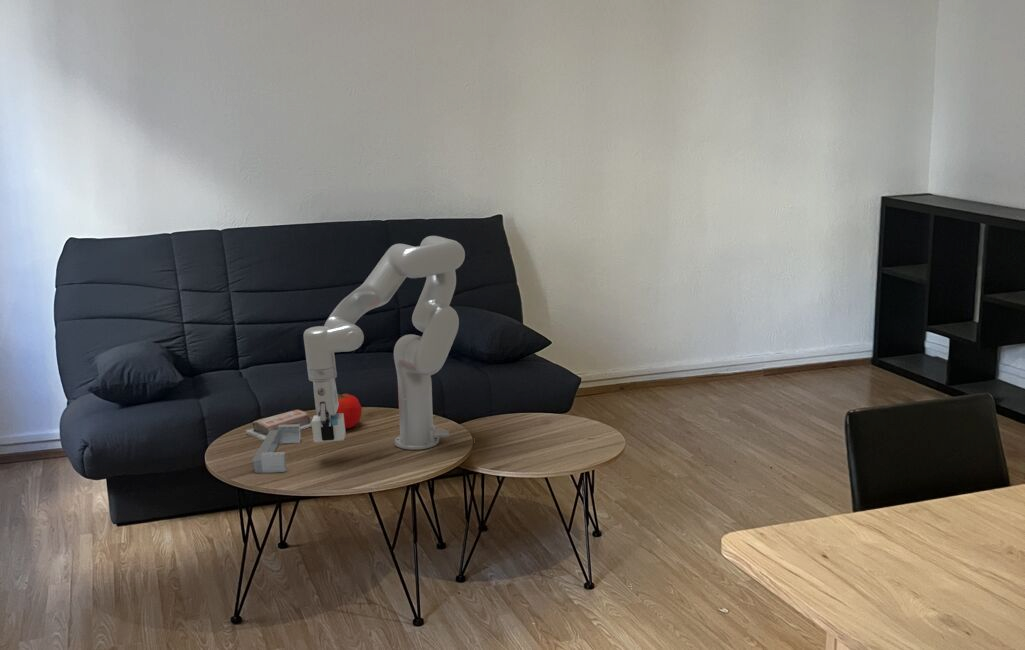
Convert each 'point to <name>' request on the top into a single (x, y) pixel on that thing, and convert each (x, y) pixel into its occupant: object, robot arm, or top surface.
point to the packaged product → (279, 423)
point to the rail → (266, 456)
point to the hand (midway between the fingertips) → (329, 435)
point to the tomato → (349, 409)
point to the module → (337, 427)
